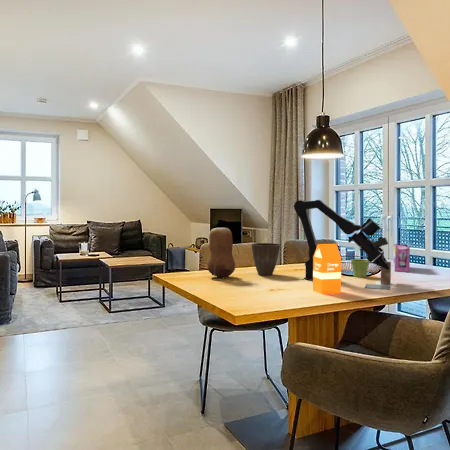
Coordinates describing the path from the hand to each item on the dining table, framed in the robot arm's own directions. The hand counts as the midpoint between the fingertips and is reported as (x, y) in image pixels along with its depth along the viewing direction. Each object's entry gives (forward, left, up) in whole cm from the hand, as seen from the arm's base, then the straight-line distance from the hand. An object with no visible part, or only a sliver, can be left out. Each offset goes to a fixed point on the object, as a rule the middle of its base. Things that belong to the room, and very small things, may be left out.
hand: (389, 268), depth 200 cm
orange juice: (-37, +1, -8) cm, 38 cm away
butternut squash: (-57, +55, -8) cm, 80 cm away
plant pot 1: (-32, +52, -8) cm, 62 cm away
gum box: (+49, +32, -8) cm, 59 cm away
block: (-1, +1, -7) cm, 7 cm away
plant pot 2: (+5, +22, -8) cm, 24 cm away
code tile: (-1, +1, -8) cm, 8 cm away
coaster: (-11, -3, -8) cm, 14 cm away
